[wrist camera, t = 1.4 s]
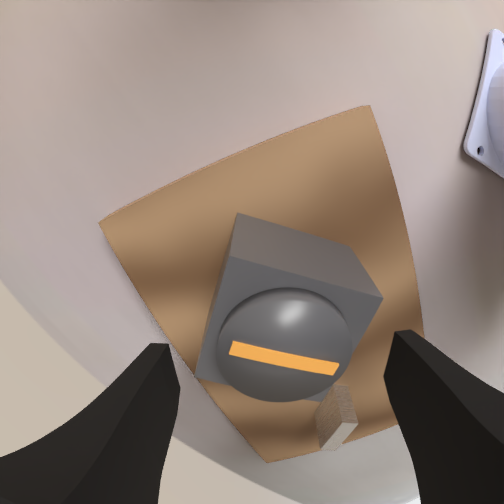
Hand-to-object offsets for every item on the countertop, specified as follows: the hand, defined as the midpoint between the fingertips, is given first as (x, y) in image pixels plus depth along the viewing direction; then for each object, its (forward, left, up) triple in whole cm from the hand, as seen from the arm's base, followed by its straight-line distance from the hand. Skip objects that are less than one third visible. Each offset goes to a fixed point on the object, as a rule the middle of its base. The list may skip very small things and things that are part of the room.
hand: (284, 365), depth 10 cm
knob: (0, 0, -6) cm, 6 cm away
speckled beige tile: (-6, +7, -6) cm, 11 cm away
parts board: (-3, +3, -7) cm, 8 cm away
